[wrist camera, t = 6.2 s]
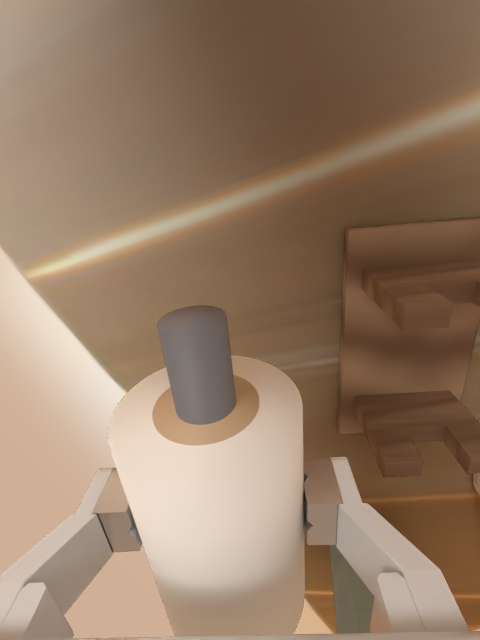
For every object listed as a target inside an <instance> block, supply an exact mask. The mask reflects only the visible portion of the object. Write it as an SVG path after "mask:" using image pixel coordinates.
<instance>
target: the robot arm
mask: <svg viewBox="0 0 480 640" xmlns="http://www.w3.org/2000/svg"><path fill="white" fill-rule="evenodd" d="M303 474H304V526H305V532H306V538H307V544H308V545H336V547H337V548H338V549H339V551H340V552H341V553H342V555H343V556H344V557H345V559H346V560H347V561H348V563H349V564H350V565H351V566H352V568H353V569H354V570H355V572H356V573H357V574H358V576H359V577H360V578H361V580H362V581H363V582H364V584H365V585H366V586H367V587H368V589H369V590H370V591H371V593H372V594H373V595H374V604H373V610H372V616H371V623H370V632H371V633H346V634H294V635H293V634H291V635H235V636H181V637H132V638H130V637H129V638H78V639H77V638H76V639H72V638H73V636H74V634H73V631H72V628H71V627H70V625H69V623H68V622H67V620H66V618H65V617H64V614H65V613H66V612H67V611H68V610H69V608H70V607H71V606H72V605H73V603H74V602H75V601H76V600H77V598H78V597H79V596H80V595H81V593H82V592H83V591H84V590H85V588H86V587H87V586H88V585H89V583H90V582H91V581H92V580H93V578H94V577H95V576H96V575H97V573H98V572H99V571H100V570H101V569H102V567H103V566H104V565H105V564H106V562H107V561H108V560H109V559H110V557H111V556H112V555H113V552H127V551H139V550H140V548H141V545H142V541H141V538H140V535H139V532H138V529H137V526H136V524H135V521H134V518H133V515H132V512H131V509H130V506H129V503H128V501H127V498H126V495H125V492H124V489H123V486H122V483H121V480H120V477H119V475H118V472H117V469H116V468H100V469H99V470H98V471H97V472H96V473H95V475H94V477H93V479H92V481H91V483H90V485H89V487H88V489H87V491H86V493H85V496H84V497H83V499H82V501H81V503H80V505H79V508H78V509H77V511H76V513H75V515H70V516H69V517H68V518H66V519H65V520H64V521H63V522H62V523H61V524H59V525H58V526H57V527H56V528H55V529H54V530H52V531H51V532H50V533H49V534H48V535H47V536H45V538H43V539H42V540H41V541H40V542H38V543H37V544H36V545H35V546H34V547H33V548H32V549H30V550H29V551H28V552H27V553H26V554H25V555H23V556H22V557H21V558H20V559H19V560H18V561H16V562H15V563H14V564H13V565H12V566H11V567H9V568H8V569H7V570H6V571H5V572H4V573H2V574H1V575H0V640H480V631H470V630H469V628H468V626H467V624H466V622H465V620H464V618H463V616H462V614H461V612H460V610H459V607H458V605H457V603H456V601H455V599H454V597H453V595H452V593H451V591H450V589H449V586H448V584H447V582H446V580H445V578H444V576H443V574H442V572H441V570H440V569H439V568H438V567H437V566H436V565H435V564H434V563H433V562H431V561H430V560H429V559H428V558H427V557H426V556H425V555H424V554H423V553H422V552H421V551H419V550H418V549H417V548H416V547H415V546H414V545H413V544H412V543H411V542H410V541H409V540H407V539H406V538H405V537H404V536H403V535H402V534H401V533H400V532H399V531H398V530H397V529H395V528H394V527H393V526H392V525H391V524H390V523H389V522H388V521H387V520H386V519H385V518H383V517H382V516H381V515H380V514H379V513H378V512H377V511H376V510H375V509H374V508H373V507H371V506H370V505H369V504H368V503H363V502H362V499H361V496H360V494H359V491H358V488H357V485H356V482H355V479H354V476H353V473H352V470H351V468H350V465H349V462H348V459H347V458H346V457H330V458H329V457H325V458H309V459H303Z"/></svg>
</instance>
